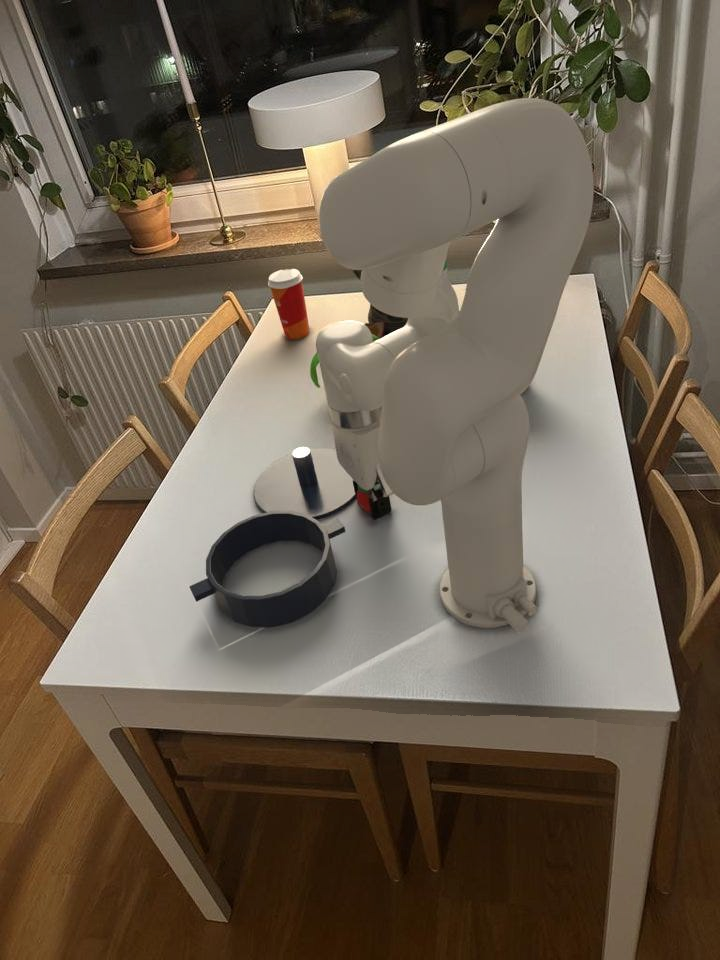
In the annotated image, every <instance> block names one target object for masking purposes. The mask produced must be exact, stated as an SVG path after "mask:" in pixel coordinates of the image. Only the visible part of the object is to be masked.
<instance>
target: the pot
mask: <svg viewBox="0 0 720 960" xmlns="http://www.w3.org/2000/svg"><path fill="white" fill-rule="evenodd" d="M346 531H347V530H346V527H345V526H344V524H343V523H342V521H340V519H339V518H338V517H337V518H334V519H332V520H330V521H327V522H325V523H324V524H322V523H321V522H320V521H319V519H314V518H312V517H311V516H309V515H307V514H304V513H299V512H295V511H271V512H267V513H264V512H263V513H259V514H254V515H252V516H250V517H247V518H246V519H243V520H241V521H239V522H238V521H237V523H235V524H234V525H232V526H231V527H229V528H228V529H227V530H225V531H224V532H223V533H221V535H220V536H219V537H218V538H217V539H216V541H215V542H213V544H212V545H211V547H210V549H209V551H208V554H207V556H206V559H205V575H206V578H205V579H203V580H200V581H198V582H196V583H193V584H191V585H189V590H190V592H191V593H192V597H193V599H194V600H195V602H197V603H198V602H199V601H201V600H203V599H205V598H207V597H210V596H213V595H214V597H215V600H216V602H217V604H218V606H219V608H220V610H221V612H222V613H223V614H224V615H226V617H228V618H229V619H230V620H231V621H233V622H235V623H238V624H241V625H244V626H247V627H251V628H262V629H263V628H264V629H265V628H275V627H279V626H284V625H287V624H291V623H294V622H296V621H298V620H301V619H302V618H305V617H306V616H308V615H310V614H311V613H312V612H314V611H315V610H316V609H318V608H319V607H320V606H321V605H322V604H323V603H324V602H325V601H326V599H327V598H328V597H329V595H330V593H331V592H332V590H333V588H334V587H335V583H336V579H337V575H338V571H337V565H336V561H335V557H334V553H333V548H332V544H331V539H334V538H336V537H337V536H340V535H342V534H344V533H346ZM285 541H286V542H294V541H297V542H300V543H305V544H309V545H311V546H313V547H314V548H317V549H318V550H319V551H322V556H321V559H320V560H319V562H318V563H317V565H316V566H315V567H314V569H313V570H312V571H311V572H310V573H309V574H308V575H307V576H305V577H304V578H303V579H301V581H299V582H298V583H295V584H293V585H291V586H289V587H286V588H285V589H283V590H281V591H277V592H272V593H268V594H264V595H244V594H243V595H242V594H239V593H235V592H232V591H228V590H227V589H225V587H223V586H222V585H223V583H224V580H225V578H226V575H227V573H228V572H229V571H230V570H231V568H232V567H233V566H234V564H235V563H236V562H237V561H238V560H239V559H242V558H243V557H244V556H245V555H246V554H248V553H249V552H252V551H254V550H256V549H258V548H260V547H262V546H264V545H268V544H272V543H277V542H285Z"/></svg>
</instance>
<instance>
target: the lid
mask: <svg viewBox="0 0 720 960" xmlns="http://www.w3.org/2000/svg"><path fill="white" fill-rule="evenodd" d="M353 481H354V480H353V479H352V477H351V476H350V475H349V474H348V473H347V472H346V471H345V470H344V468H343V467H342V466H341V465H340V463H339V461H338V459H337V453H336V448H328V447H327V448H324V447H318V448H317V447H316V448H309V447H307V446H299V447H296V448H294V449H293V450H292V452H291V453H290V454H287V455H284V456H283V457H281V458H279V459H277V460H275V461H274V462H273V463H271V464H270V465H268V466H267V467H266V468H265V469H264V470H263V471H262V472H261V474H260V475H259V476H258V478H257V480H256V481H255V484H254V486H253V497H254V501H255V503H256V506H257V507H258V508H259V510H260V511H261V512H263V513H267V512H271V511H295V512H299V513H304V514H307V515H309V516H311V517H312V518H314V519H316V520H319V519H322V518H324V517H328V516H330V515H333V514H335V513H337V512H339V511H341V510H342V509H344V508H346V507H347V506H348V505H349V504H351V503H352V502H353V501H354V500H355V499H356V496H355V491H354V486H353Z"/></svg>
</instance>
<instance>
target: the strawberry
mask: <svg viewBox="0 0 720 960" xmlns="http://www.w3.org/2000/svg"><path fill="white" fill-rule="evenodd" d="M379 489H381V486H380V484H377V485H375V486H374V490H375V492H376V491H377V490H379ZM369 498H371V497H370V493H369V490H364V489H363V488H361V487H360V486H359V485H358V491H357V500H356V502H357V504H358V505H359V507H360V508H361V509H363V510H364V511H365V512H367V513H369V514H371V510H370V504H369Z"/></svg>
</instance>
